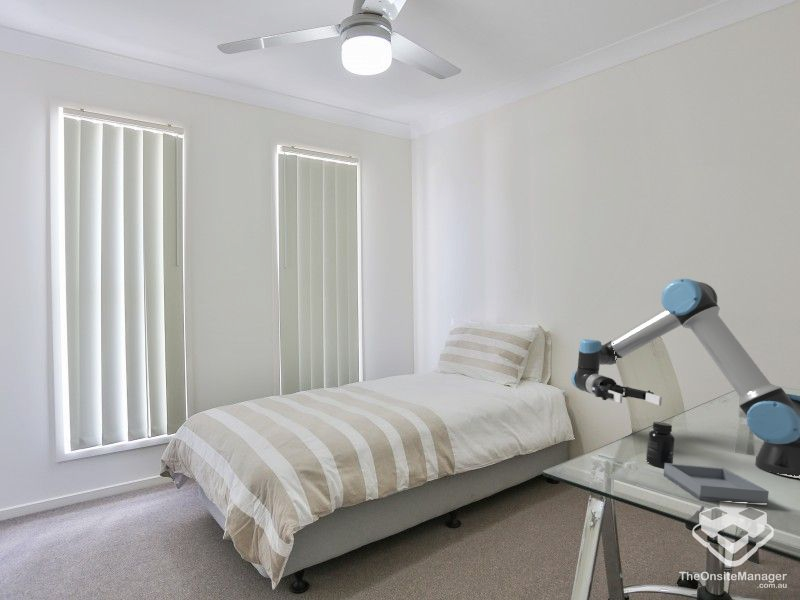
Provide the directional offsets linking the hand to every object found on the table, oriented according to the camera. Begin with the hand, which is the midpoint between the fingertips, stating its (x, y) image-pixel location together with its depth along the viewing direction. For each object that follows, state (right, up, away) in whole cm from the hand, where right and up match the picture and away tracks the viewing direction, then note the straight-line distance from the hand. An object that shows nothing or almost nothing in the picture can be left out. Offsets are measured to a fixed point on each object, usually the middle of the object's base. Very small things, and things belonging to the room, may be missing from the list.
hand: (641, 400), depth 150 cm
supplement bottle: (0, -17, -10) cm, 20 cm away
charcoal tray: (+4, -17, -28) cm, 33 cm away
